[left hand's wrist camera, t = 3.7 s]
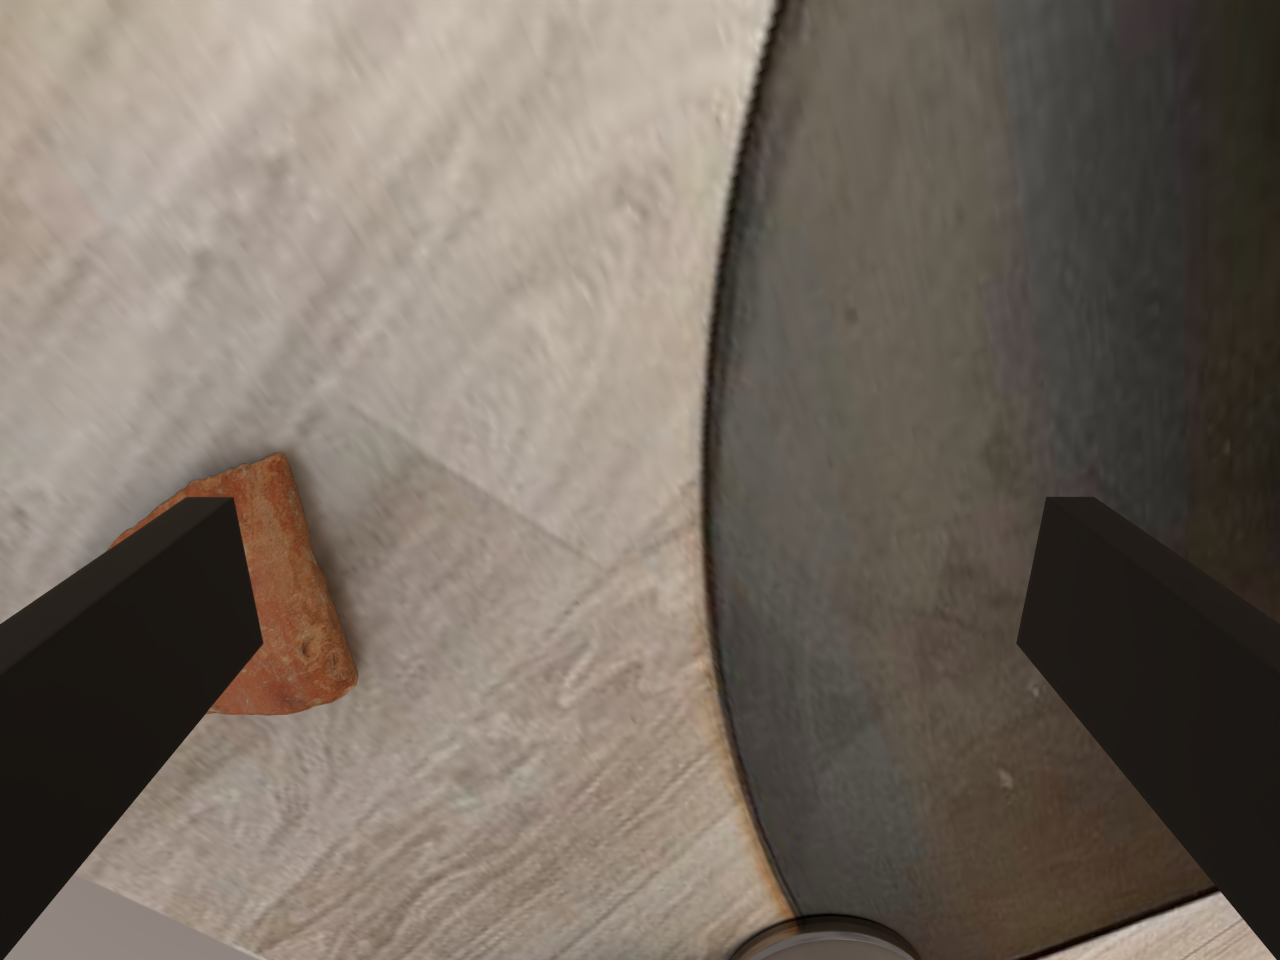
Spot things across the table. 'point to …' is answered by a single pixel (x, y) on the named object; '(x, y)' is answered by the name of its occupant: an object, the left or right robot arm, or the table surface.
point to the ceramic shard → (278, 595)
